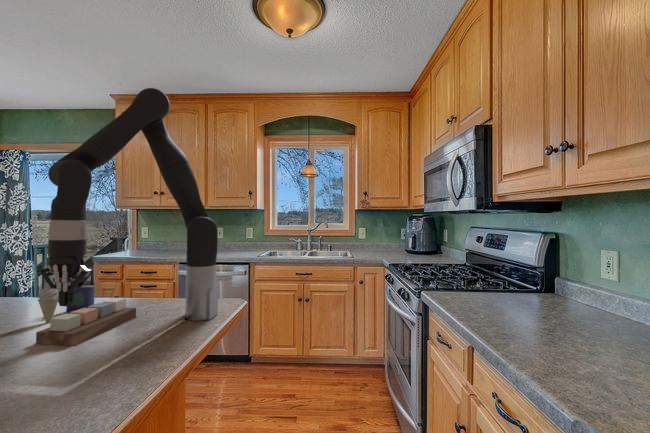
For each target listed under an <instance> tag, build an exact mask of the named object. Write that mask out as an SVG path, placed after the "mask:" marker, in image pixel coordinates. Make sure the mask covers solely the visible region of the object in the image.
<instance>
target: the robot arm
mask: <svg viewBox="0 0 650 433" xmlns="http://www.w3.org/2000/svg"><path fill="white" fill-rule="evenodd" d="M170 109H171V104H170V100H169V98H168V95H166V94H165V93H164V92H163V91H162V90H160V89H158V88H154V87H146V88H144V89H142V90H141V91H139V92H138V93H137V94H136V96H135V97H134V99H133V100H132V101H131V104H130V105H129V106H128V107H127V108H126V109H125V110H124V111H122V112H121V113H120V114H119V116H117V117H116V118H114V119H113V120H112V121H110V122H109V123H107V124H105V126H103V127H102V128H101V129H100V130H98V131H97V132H96V133H94V134H93V135H92V136H90V137H89V138H88V139H86V140H85V141H84V142H83V143H82V144H81V145H80V146H78V147H77V148H75V149H73V151H70V152H69V153H67V154H66V155H64V156H63V157H61V158H59V159H58V160H57V161H56V162H54V163H53V164H52V165H51V166H50V168H49V169H48V179H49V181H50V182H51V183H52V184H53V185H55V186H56V187H57V190H56V196H55V197H54V198H53V199H52V200H51V203H50V204H51V205H50V220H49V227H48V236H47V237H48V238H47V239H48V240H47V242H48V244H47V256H48V257H49V258H50V260H49V262H48V266H47V267H45V268H41V269H40V271H39V272H40V274H41V276H42V277H43V278H44V280H45V282H47V283H48V285H49V286H50V288H51V289H57V291H58V292H59V295H58V306H60V307H67V306H69V305H71V304H72V303H73V300H74V299H73V298H74V290H75V289H77V288H81V287H82V286H83V285H84V284H86V282H87V281H88V279H89V278H90V277H91V276H92V274H93V273H94V269H92V268H87V267H86V265H85V264H86V262H85V260H84V257H85V256H86V254H87V235H88V234H87V233H88V232H87V229H88V228H87V221H86V219H87V202H88V199H89V196H90V191H91V187H92V181H93V179H92V178H93V176H92V175H93V174H92V172H93V171H95V169H97V168H100V167H103V166H105V164H107V163H108V162H110V161H111V160H112V159H113V158H114V157H115V156H117V154H119V153H120V152H121V151H122V150H123V149H124V148H125V147H126V146H127V145H128V143H130V142H131V141H132V140H133V139H134V137H136V135H137V134H139V132H140V131H141V132H142V133H143V135H144V138H145V139H146V141H147V144H148V146H149V149H150V151H151V153H152V155H153V158H154V160H155V162H156V166H157V167H158V170H159V172H160V175H161V177H162V178H163V181H164V183H165V185H166V188H167V189H168V191H169V193H170V195H171V196H172V198H173V199H174V201H175V202H176V204H177V206H178V208H179V209H180V212H181V215H182V218H183V221H184V224H185V228H186V258H185V260H186V266H185V268H186V270H185V272H186V273H185V311H184V312H185V319H186V320H188V321H191V322H193V321H194V322H195V321H196V322H197V321H205V320H211V319H213V318H214V317H216V316H217V315H218V309H219V308H218V304H219V286H218V285H217V283H216V282H217V259H218V258H217V257H218V236H219V235H218V234H219V233H218V232H219V231H218V226H217V223H216V222H215V221H214V220H213V219H211V216H210V215H209V213H208V212H207V210H206V208H205V205H204V203H203V201H202V199H201V194H200V191H199V187H198V183H197V180H196V177H195V174H194V171H193V169H192V166H191V163H190V161H189V160H188V157H187V156H186V154H185V153H184V152H183V151H182V150H181V148H180V147H178V145H177V144H176V143H175V142H174V141H173V140H172V138H171V136H170V134H169V132H168V130H167V127H166V124H165V121H164V118H165V117H167V115H168V113H169V111H170Z"/></svg>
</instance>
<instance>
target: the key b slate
mask: <svg viewBox="0 0 650 433" xmlns="http://www.w3.org/2000/svg"><path fill="white" fill-rule="evenodd" d="M88 308H98V318H102V317H104V316H107V315H109V314H112V313H113V303H103V302H97V303H94V305H91V306H88Z"/></svg>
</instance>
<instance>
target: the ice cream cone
mask: <svg viewBox="0 0 650 433" xmlns="http://www.w3.org/2000/svg"><path fill="white" fill-rule="evenodd" d="M45 282H46V281H45ZM58 295H59V292H58V291H57V289H51V288H50V286H49V285H48V283H47V282H46V283H45V284H44V285H43V289H41V290H40V292H39V293H38V299H37V301H38V304H39V307H40V310H41V313H42V316H43V318H44V321H45V324H50V319H51V318H54V314H55V312H56V308H57V306H58V305H59V303H58Z"/></svg>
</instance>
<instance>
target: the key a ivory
mask: <svg viewBox="0 0 650 433" xmlns="http://www.w3.org/2000/svg"><path fill="white" fill-rule="evenodd" d="M102 303H113V312H117V311H120V310H122V309H125V308H126V307H127V298H125V297H124V298H123V297H121V298H120V297H112V298H110V299H107V300H103V301H102Z"/></svg>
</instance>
